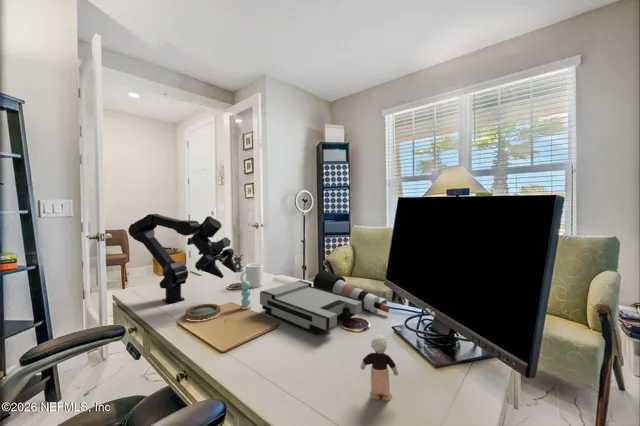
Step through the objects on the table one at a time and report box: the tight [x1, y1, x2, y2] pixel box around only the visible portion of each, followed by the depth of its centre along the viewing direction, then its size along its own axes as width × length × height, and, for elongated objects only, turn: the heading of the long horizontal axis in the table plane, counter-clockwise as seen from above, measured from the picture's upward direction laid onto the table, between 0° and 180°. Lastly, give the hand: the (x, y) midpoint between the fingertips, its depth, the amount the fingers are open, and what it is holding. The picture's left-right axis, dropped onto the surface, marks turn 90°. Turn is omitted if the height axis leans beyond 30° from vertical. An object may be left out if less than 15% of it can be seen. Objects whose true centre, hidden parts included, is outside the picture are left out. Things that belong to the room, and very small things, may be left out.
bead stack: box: [240, 280, 252, 310], centre depth 106 cm, size 4×4×11 cm
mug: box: [239, 262, 264, 289], centre depth 134 cm, size 12×8×10 cm
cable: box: [312, 269, 390, 314], centre depth 111 cm, size 10×34×10 cm, turn 45°
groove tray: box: [184, 303, 222, 320], centre depth 99 cm, size 12×12×2 cm
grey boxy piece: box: [259, 279, 365, 336], centre depth 99 cm, size 21×32×8 cm, turn 49°
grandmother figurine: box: [359, 334, 399, 402], centre depth 58 cm, size 8×4×13 cm, turn 87°
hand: (229, 274), depth 107 cm, fingers open, 9 cm apart
